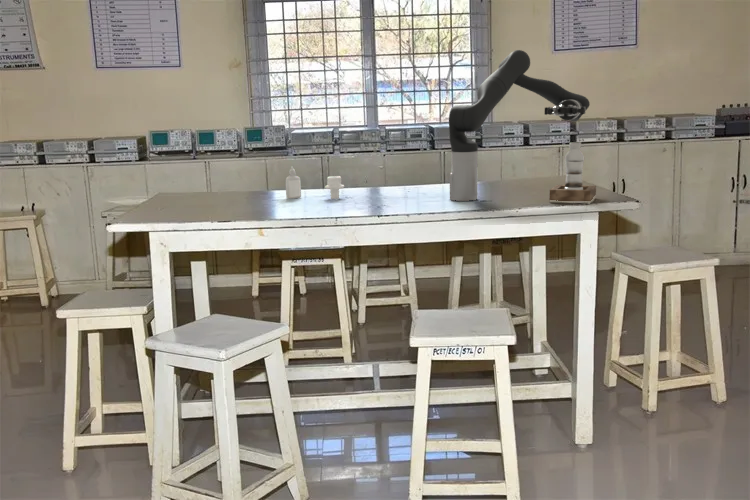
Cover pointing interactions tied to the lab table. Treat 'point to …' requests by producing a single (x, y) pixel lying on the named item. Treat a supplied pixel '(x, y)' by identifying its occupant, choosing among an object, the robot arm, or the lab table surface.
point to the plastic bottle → (574, 167)
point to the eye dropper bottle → (293, 185)
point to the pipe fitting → (334, 186)
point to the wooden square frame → (572, 193)
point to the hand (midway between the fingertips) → (561, 111)
